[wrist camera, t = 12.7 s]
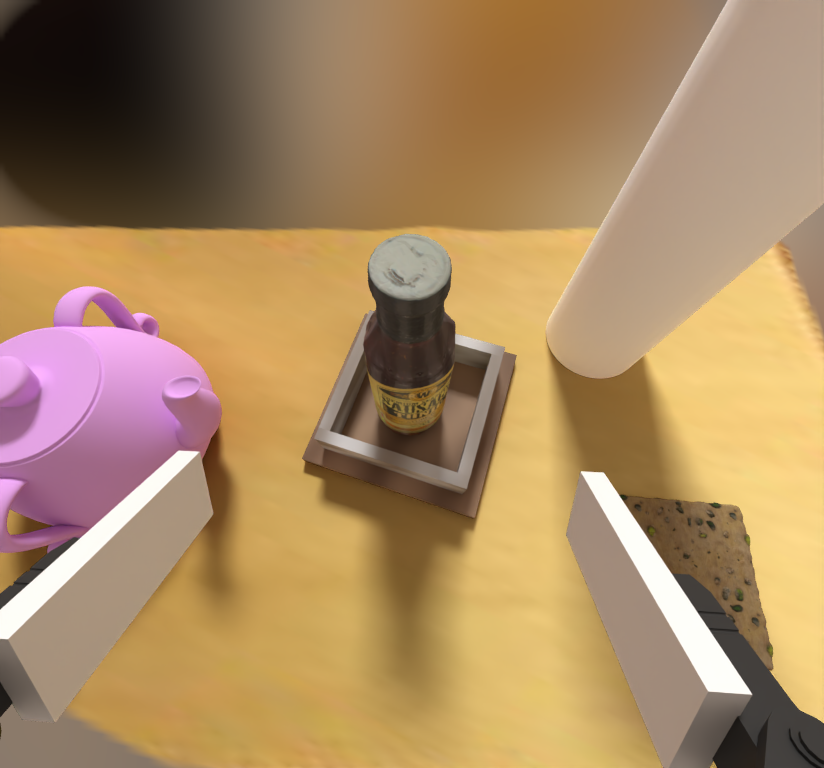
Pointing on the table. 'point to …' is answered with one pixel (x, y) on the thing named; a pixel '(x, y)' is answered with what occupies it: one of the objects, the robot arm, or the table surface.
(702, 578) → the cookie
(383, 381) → the sauce bottle
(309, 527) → the table surface
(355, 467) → the grey square tray
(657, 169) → the cylinder container
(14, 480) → the teapot
